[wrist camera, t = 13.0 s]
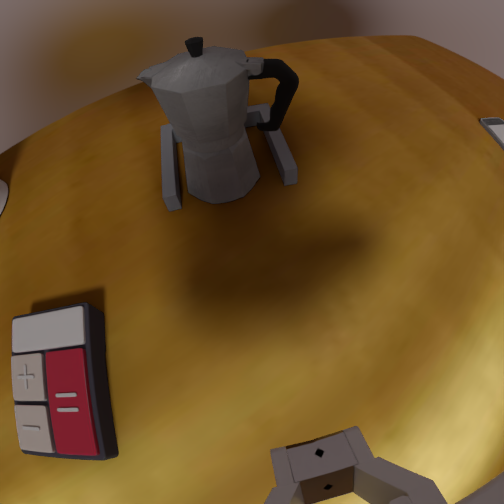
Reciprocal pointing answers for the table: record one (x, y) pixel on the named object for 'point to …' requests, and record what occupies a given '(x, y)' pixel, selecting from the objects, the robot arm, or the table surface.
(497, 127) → the smartphone
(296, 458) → the robot arm
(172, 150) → the dock
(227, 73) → the coffeepot
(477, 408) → the table surface
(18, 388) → the calculator
